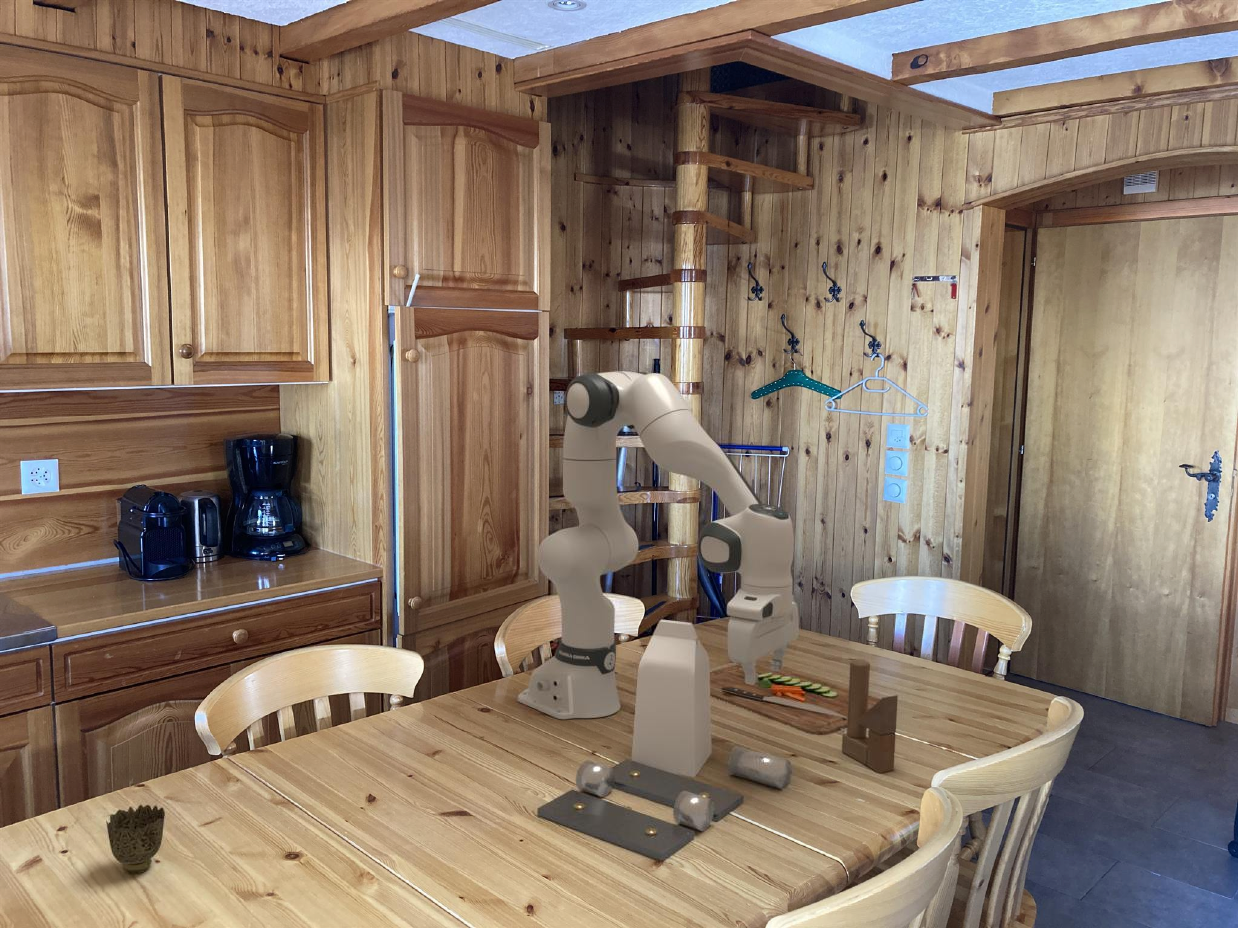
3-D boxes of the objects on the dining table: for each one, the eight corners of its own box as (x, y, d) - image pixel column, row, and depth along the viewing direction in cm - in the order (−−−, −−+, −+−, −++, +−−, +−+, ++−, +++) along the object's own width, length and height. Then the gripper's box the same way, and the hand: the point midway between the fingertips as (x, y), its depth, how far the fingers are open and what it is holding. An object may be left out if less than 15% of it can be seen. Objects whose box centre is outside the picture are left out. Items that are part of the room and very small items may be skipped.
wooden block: (878, 773, 179) (883, 677, 177) (840, 751, 188) (845, 659, 186) (894, 770, 180) (899, 674, 178) (856, 749, 190) (860, 657, 188)
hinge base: (537, 815, 160) (537, 785, 159) (626, 765, 180) (627, 738, 180) (662, 861, 146) (663, 829, 145) (743, 801, 166) (744, 773, 166)
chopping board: (908, 714, 211) (908, 700, 211) (829, 744, 194) (830, 728, 193) (749, 662, 245) (750, 649, 245) (671, 683, 228) (671, 670, 227)
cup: (121, 856, 144) (119, 803, 143) (173, 855, 145) (172, 802, 144) (99, 883, 137) (97, 828, 136) (154, 882, 138) (152, 827, 137)
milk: (631, 766, 180) (634, 626, 177) (650, 743, 191) (654, 611, 188) (694, 776, 176) (699, 633, 173) (711, 753, 187) (715, 618, 184)
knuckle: (727, 778, 176) (728, 751, 175) (741, 768, 180) (741, 742, 179) (778, 793, 170) (779, 765, 170) (791, 783, 174) (792, 755, 174)
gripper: (776, 585, 182) (774, 659, 183) (721, 607, 165) (719, 687, 167) (808, 590, 178) (806, 665, 180) (755, 612, 162) (753, 695, 163)
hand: (764, 676), depth 173 cm, fingers open, 8 cm apart
